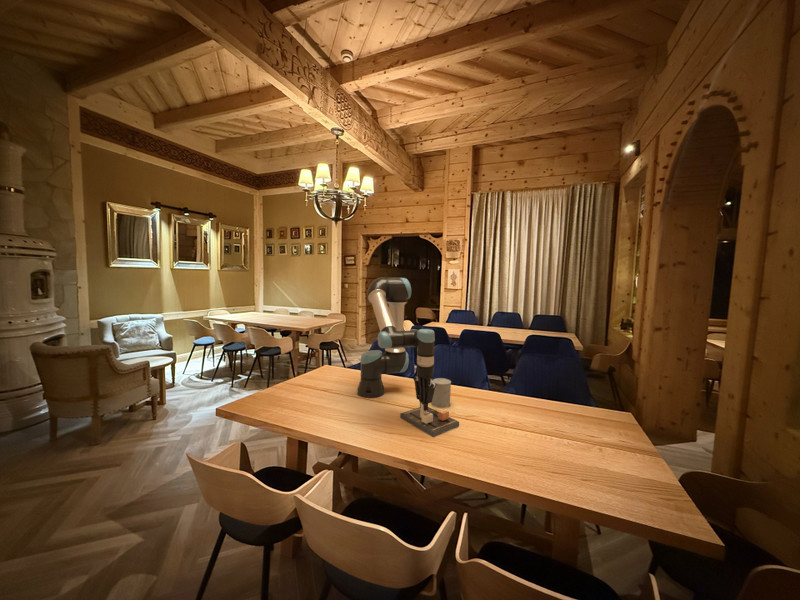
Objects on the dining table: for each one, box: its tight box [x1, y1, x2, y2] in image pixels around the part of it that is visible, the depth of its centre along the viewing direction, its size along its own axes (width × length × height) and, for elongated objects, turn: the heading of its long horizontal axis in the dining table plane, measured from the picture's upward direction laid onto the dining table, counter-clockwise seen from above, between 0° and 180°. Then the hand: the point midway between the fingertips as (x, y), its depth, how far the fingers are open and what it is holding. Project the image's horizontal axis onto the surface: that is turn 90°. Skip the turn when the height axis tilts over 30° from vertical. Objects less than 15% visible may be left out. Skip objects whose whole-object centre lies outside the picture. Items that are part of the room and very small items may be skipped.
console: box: [399, 406, 460, 438], centre depth 146 cm, size 22×16×2 cm
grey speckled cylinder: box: [431, 377, 452, 409], centre depth 166 cm, size 10×10×12 cm
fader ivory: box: [421, 412, 433, 424], centre depth 141 cm, size 3×4×4 cm
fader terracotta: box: [438, 408, 450, 421], centre depth 145 cm, size 3×4×4 cm
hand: (423, 416), depth 143 cm, fingers closed
